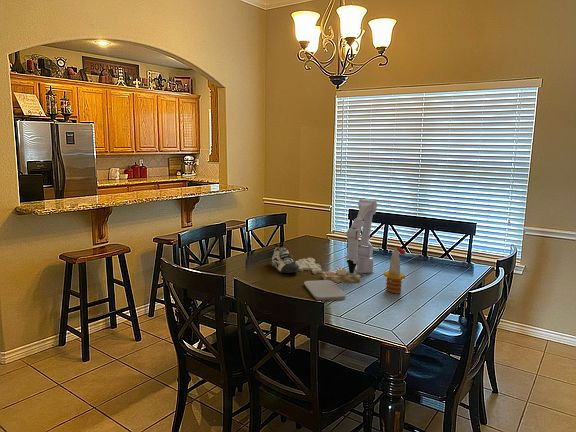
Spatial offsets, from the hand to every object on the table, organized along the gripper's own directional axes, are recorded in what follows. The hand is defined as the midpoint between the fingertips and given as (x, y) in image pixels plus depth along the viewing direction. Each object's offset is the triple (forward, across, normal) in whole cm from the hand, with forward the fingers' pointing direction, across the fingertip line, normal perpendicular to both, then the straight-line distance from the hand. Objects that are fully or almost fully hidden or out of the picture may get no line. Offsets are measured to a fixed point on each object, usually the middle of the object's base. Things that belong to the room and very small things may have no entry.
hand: (351, 272), depth 250 cm
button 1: (+3, 0, 0) cm, 3 cm away
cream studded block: (+1, 0, -6) cm, 6 cm away
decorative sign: (+4, -25, -21) cm, 33 cm away
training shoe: (+4, -20, -37) cm, 42 cm away
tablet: (+4, +21, -20) cm, 29 cm away
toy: (+4, +22, +17) cm, 28 cm away
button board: (+4, 0, -6) cm, 7 cm away
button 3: (+3, 0, -12) cm, 12 cm away
